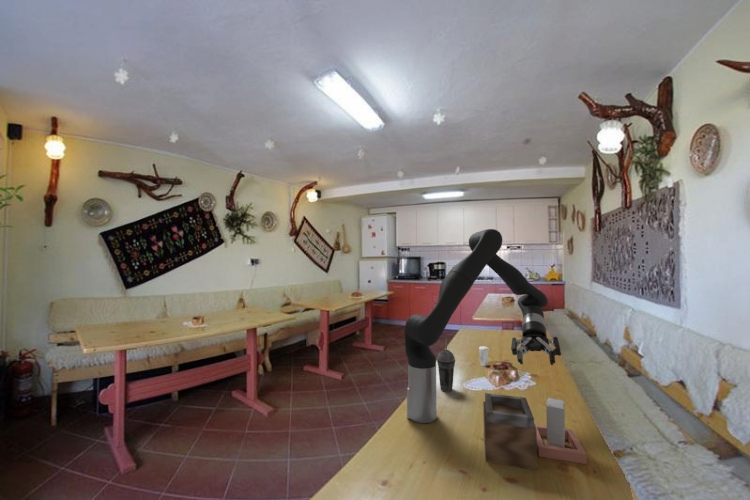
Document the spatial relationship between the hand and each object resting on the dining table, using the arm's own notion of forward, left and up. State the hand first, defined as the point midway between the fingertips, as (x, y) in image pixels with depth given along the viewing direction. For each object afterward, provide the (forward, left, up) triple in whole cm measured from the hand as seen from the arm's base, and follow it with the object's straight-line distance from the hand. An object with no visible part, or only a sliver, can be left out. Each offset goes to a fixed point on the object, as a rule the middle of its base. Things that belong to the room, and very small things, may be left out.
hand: (536, 362), depth 96 cm
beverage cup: (-29, +21, -20) cm, 41 cm away
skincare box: (+3, -9, -20) cm, 22 cm away
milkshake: (-13, +55, -20) cm, 60 cm away
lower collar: (+3, -9, -20) cm, 22 cm away
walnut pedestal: (-10, -15, -20) cm, 27 cm away
